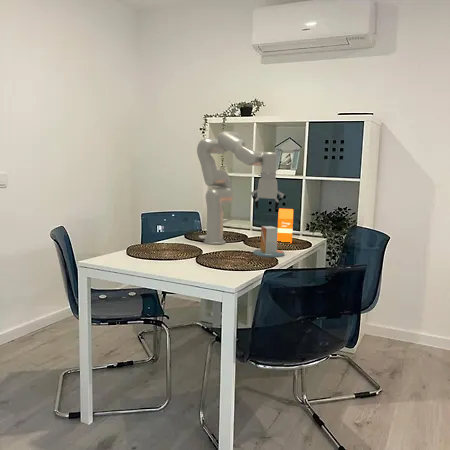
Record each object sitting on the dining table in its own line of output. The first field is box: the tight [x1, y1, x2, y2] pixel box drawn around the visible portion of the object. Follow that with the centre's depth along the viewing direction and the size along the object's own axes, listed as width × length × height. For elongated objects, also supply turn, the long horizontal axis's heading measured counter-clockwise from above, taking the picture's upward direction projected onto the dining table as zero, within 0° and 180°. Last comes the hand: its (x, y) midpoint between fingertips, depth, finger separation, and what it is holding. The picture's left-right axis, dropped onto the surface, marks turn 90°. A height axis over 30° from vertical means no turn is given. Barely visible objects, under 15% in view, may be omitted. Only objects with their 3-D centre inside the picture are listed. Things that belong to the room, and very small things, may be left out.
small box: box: [259, 225, 278, 253], centre depth 244 cm, size 8×6×13 cm
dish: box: [252, 248, 285, 258], centre depth 245 cm, size 16×16×1 cm
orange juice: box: [277, 207, 294, 244], centre depth 284 cm, size 8×9×20 cm
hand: (266, 209), depth 247 cm, fingers open, 9 cm apart
